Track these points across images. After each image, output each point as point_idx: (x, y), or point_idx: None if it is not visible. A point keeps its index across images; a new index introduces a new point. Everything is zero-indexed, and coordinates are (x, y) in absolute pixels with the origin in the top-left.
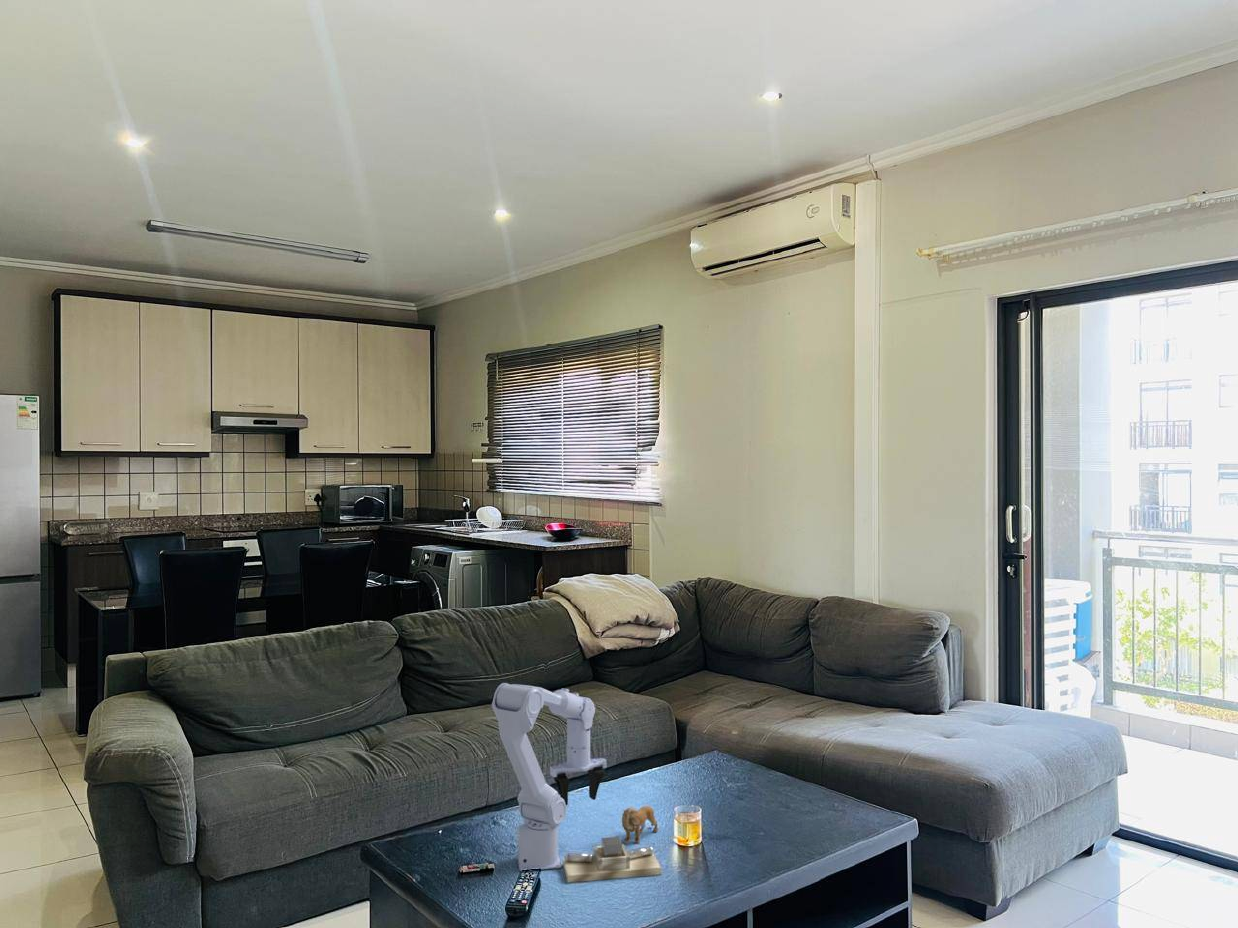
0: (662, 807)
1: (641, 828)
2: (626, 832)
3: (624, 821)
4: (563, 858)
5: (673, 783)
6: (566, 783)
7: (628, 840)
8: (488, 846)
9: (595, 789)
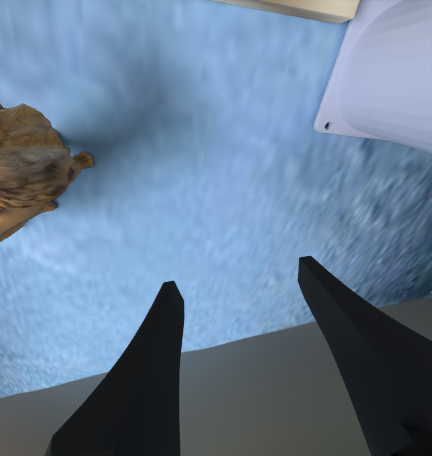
0: (10, 301)
1: (38, 209)
2: (75, 167)
3: (38, 127)
4: (352, 13)
5: (8, 362)
6: (414, 363)
7: (79, 153)
8: (422, 218)
9: (156, 320)
